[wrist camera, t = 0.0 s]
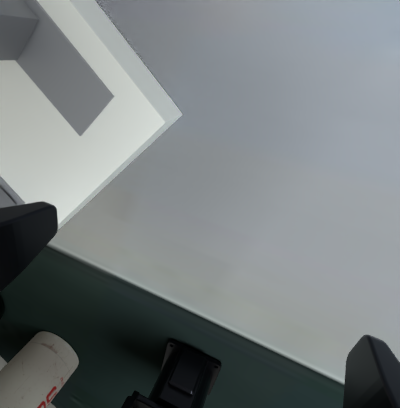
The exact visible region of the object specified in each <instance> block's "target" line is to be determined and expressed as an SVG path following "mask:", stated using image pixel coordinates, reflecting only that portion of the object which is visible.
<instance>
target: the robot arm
mask: <svg viewBox="0 0 400 408" xmlns="http://www.w3.org/2000/svg"><path fill="white" fill-rule="evenodd" d="M57 230H58V218H57V208H56V207H55V206H54V205H52V204H49V203H47V202H44V201H40V202H34V203H28V204H22V205H15V206H9V207H3V208H0V292H1V291H2V290H3V289H4V288H5V287H6V286H7V285H8V284H9V283H10V282H12V281H13V280H14V279H15V278H16V277H17V276H18V275H19V274H20V273H21V272H22V271H23V270H24V269H25V268H26V267H27V266H28V264H29V263H30V262H31V261H32V260H33V259H34V258H35V257H36V256H37V255H38V253H39V252H40V251H41V250H42V249H43V248H44V247H45V246H46V245H47V243H48V242H49V241H50V240H51V239H52V238H53V237H54V236H55V234H56V233H57ZM220 369H221V363H220V362H219V361H217V360H214V359H212V358H210V357H208V356H206V355H204V354H202V353H200V352H198V351H195V350H193V349H191V348H189V347H187V346H185V345H183V344H181V343H179V342H176V341H174V340H169V342H168V344H167V349H166V353H165V357H164V361H163V365H162V369H161V373H160V375H159V377H158V379H157V381H156V383H155V385H154V387H153V389H152V391H151V393H150V395H149V397H148V398H146V397H145V396H143V395H141V394H139V392H137V391H134V393H133V394H132V396H128V397H127V398H126V400H125V402H124V404H123V406H122V408H203V406H204V403H205V400H206V396H207V395H209V394H210V392H211V389H212V387H213V385H214V383H215V380H216V378H217V376H218V373H219V371H220ZM343 408H400V362H399V361H398V359H397V358H396V357H395V355H394V354H393V352H392V351H391V350H390V348H389V347H388V345H387V344H386V343H385V342H384V341H382V340H380V339H378V338H375V337H373V336H370V335H364V336H363V337H362V338H361V339H360V340H359V341H358V342H357V344H356V345H355V346H354V347H353V349H352V350H351V351H350V352H349V354H348V357H347V361H346V373H345V387H344V401H343Z"/></svg>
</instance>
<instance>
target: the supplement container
mask: <svg viewBox="0 0 400 408" xmlns="http://www.w3.org/2000/svg"><path fill="white" fill-rule="evenodd" d="M3 313H4V305H3V302H2V299H1V297H0V319H1V318H2V316H3Z"/></svg>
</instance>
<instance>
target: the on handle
mask: <svg viewBox="0 0 400 408" xmlns="http://www.w3.org/2000/svg"><path fill="white" fill-rule="evenodd" d="M38 20H39V19H38V18H37V16H36V15H35V14H34V13H33V11H32V10H31V9H30V8H29V7H28V5H27V4H26V3H25V2H24V0H0V60H18V58H19V56H20V55H21V53H22V51H23V49H24V47H25V45H26V43H27V41H28V39H29V37H30V35H31V34H32V32H33V30H34V28H35V26H36V24H37V22H38Z"/></svg>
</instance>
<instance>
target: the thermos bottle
mask: <svg viewBox="0 0 400 408" xmlns="http://www.w3.org/2000/svg"><path fill="white" fill-rule="evenodd" d="M78 364H79V360H78V357H77V354H76V353H75V351H74V350H73V348H72V347H71V346H70V345H69V344H68V343H67V342H66V341H64V340H63V339H62V338H60V337H59V336H57V335H55V334H53V333H50V332H45V331H42V332H39V333H37V334H36V335H35V336H34V337H33V338H32V339H31V340H30V341H29V342H28V343H27V344H26V345H25V346H24V347H23V348H22V349H21V350H20V351H19V352H18V353H17V354H16V355H15V357H14V358H13V359H12V360H11V361H10V362H9V363H8V364H7V365H6V366H5V367H4V368H3V369H2V370H1V371H0V408H46V407H47V406H48V405H49V403H50V402H51V401H52V399H53V398H54V397H55V395H56V394H57V393H58V392H59V390H60V389H61V388H62V386H63V385H64V384H65V382H66V381H67V380H68V378H69V377H70V376H71V374H72V373H73V372H74V370H75V369H76V368H77V366H78Z"/></svg>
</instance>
